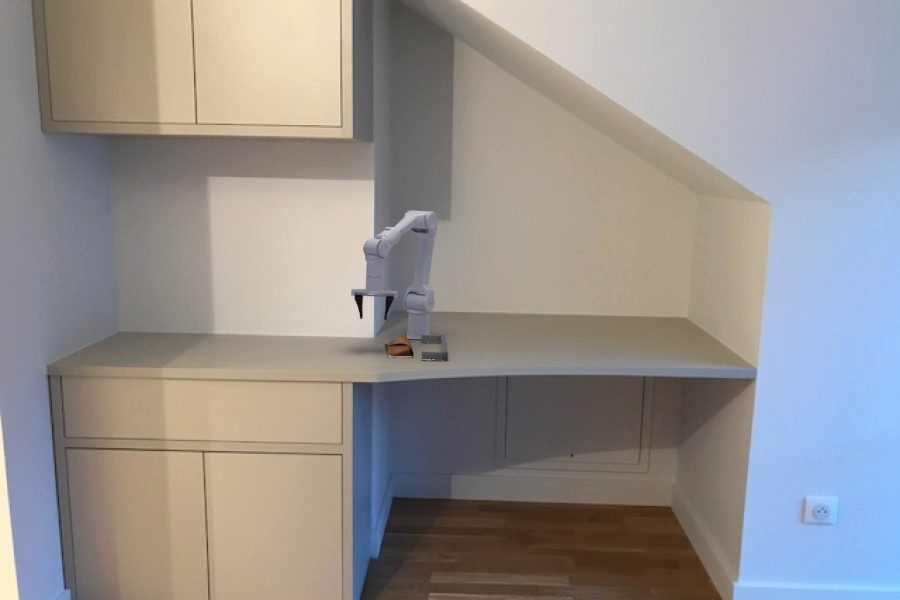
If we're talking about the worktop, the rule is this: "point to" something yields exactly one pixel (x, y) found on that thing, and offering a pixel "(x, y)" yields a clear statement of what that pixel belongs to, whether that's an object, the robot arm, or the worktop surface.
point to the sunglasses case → (399, 347)
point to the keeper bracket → (435, 339)
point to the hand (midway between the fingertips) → (373, 319)
